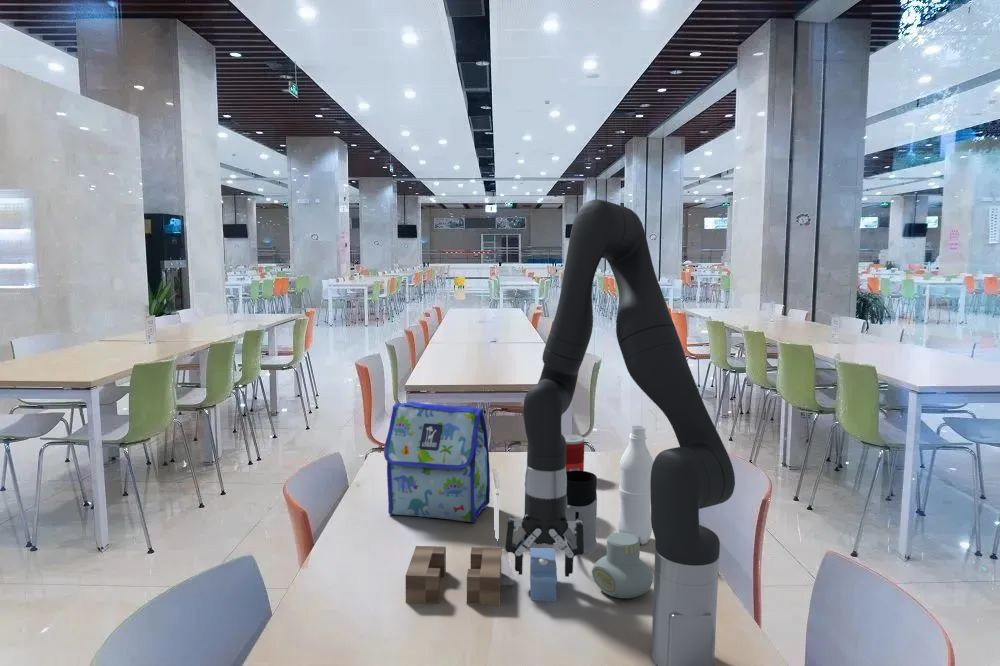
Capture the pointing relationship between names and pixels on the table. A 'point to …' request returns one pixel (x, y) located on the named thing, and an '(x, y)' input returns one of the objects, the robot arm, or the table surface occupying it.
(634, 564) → the air freshener
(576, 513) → the glass holder
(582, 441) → the canned food
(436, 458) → the lunch bag
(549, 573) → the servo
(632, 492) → the water bottle
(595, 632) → the table surface
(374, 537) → the table surface
